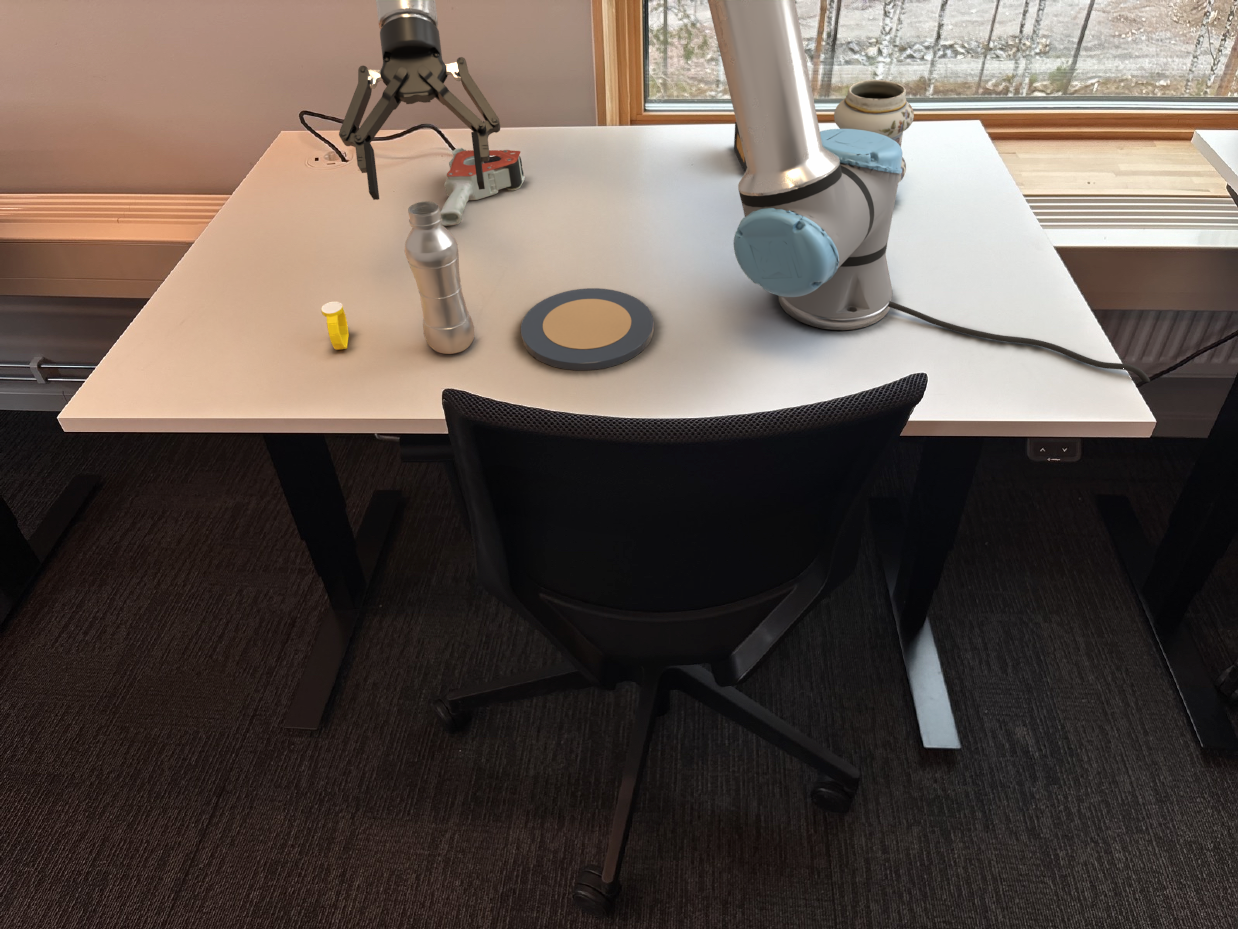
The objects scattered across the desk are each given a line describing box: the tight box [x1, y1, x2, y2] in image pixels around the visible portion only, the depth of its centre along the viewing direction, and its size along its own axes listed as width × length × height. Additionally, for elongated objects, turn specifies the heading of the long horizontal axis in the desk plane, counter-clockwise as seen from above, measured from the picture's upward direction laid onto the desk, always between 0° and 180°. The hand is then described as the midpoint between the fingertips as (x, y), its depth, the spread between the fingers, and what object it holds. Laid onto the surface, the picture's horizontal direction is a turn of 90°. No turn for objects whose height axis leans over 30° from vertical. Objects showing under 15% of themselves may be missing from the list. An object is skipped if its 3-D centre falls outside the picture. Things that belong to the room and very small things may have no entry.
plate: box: [520, 287, 655, 371], centre depth 121 cm, size 18×18×1 cm
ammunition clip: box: [733, 121, 747, 174], centre depth 155 cm, size 11×2×12 cm, turn 6°
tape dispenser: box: [440, 147, 526, 227], centre depth 152 cm, size 18×5×20 cm
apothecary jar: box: [833, 79, 915, 184], centre depth 140 cm, size 12×12×18 cm
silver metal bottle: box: [404, 200, 475, 355], centre depth 114 cm, size 6×7×20 cm
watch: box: [320, 301, 350, 351], centre depth 120 cm, size 6×3×6 cm, turn 7°
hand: (427, 191), depth 115 cm, fingers open, 13 cm apart
